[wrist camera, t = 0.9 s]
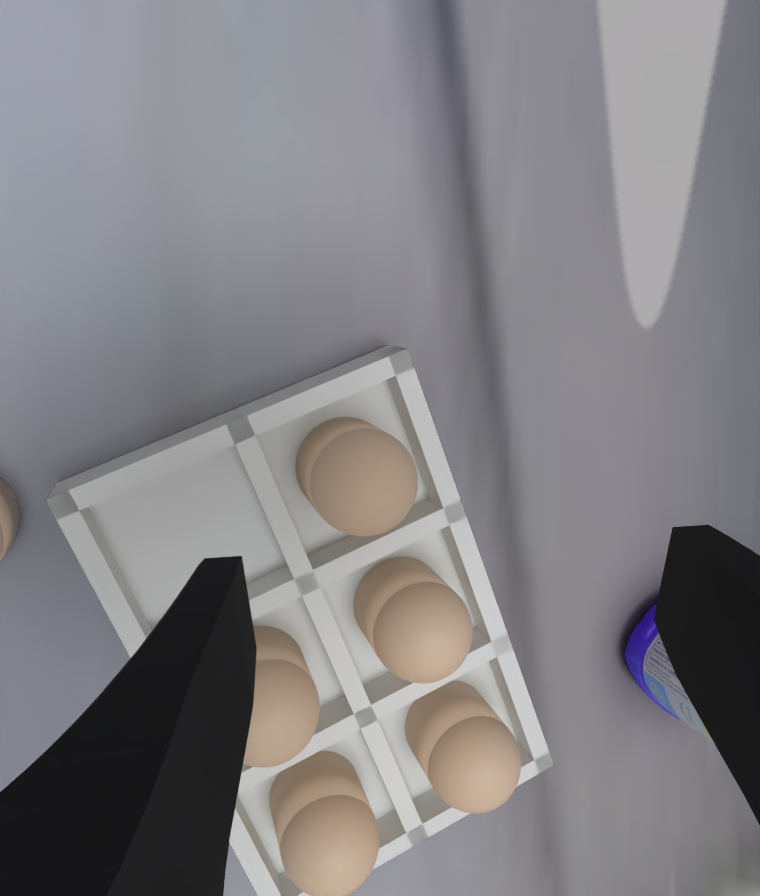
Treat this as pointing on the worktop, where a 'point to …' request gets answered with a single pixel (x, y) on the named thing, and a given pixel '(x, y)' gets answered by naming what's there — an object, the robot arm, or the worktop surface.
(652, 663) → the bottle
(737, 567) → the robot arm
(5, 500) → the egg
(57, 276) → the worktop surface
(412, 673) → the carton
